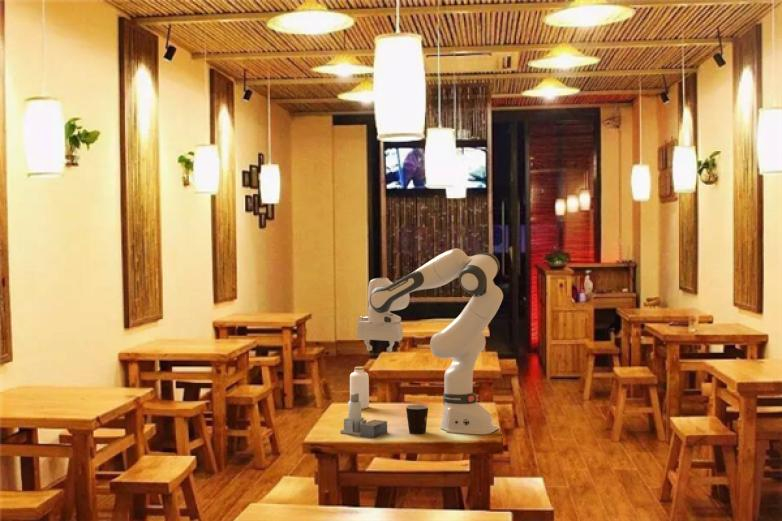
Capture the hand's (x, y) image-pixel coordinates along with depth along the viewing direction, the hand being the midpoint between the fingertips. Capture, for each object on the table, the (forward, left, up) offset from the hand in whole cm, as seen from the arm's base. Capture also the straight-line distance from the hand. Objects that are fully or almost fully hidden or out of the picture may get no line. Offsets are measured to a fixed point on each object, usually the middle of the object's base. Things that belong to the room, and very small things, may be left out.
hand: (379, 351), depth 358 cm
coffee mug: (-22, +11, -29) cm, 38 cm away
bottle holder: (-5, +20, -29) cm, 36 cm away
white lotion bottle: (0, +20, -28) cm, 34 cm away
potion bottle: (+23, -21, -29) cm, 43 cm away
